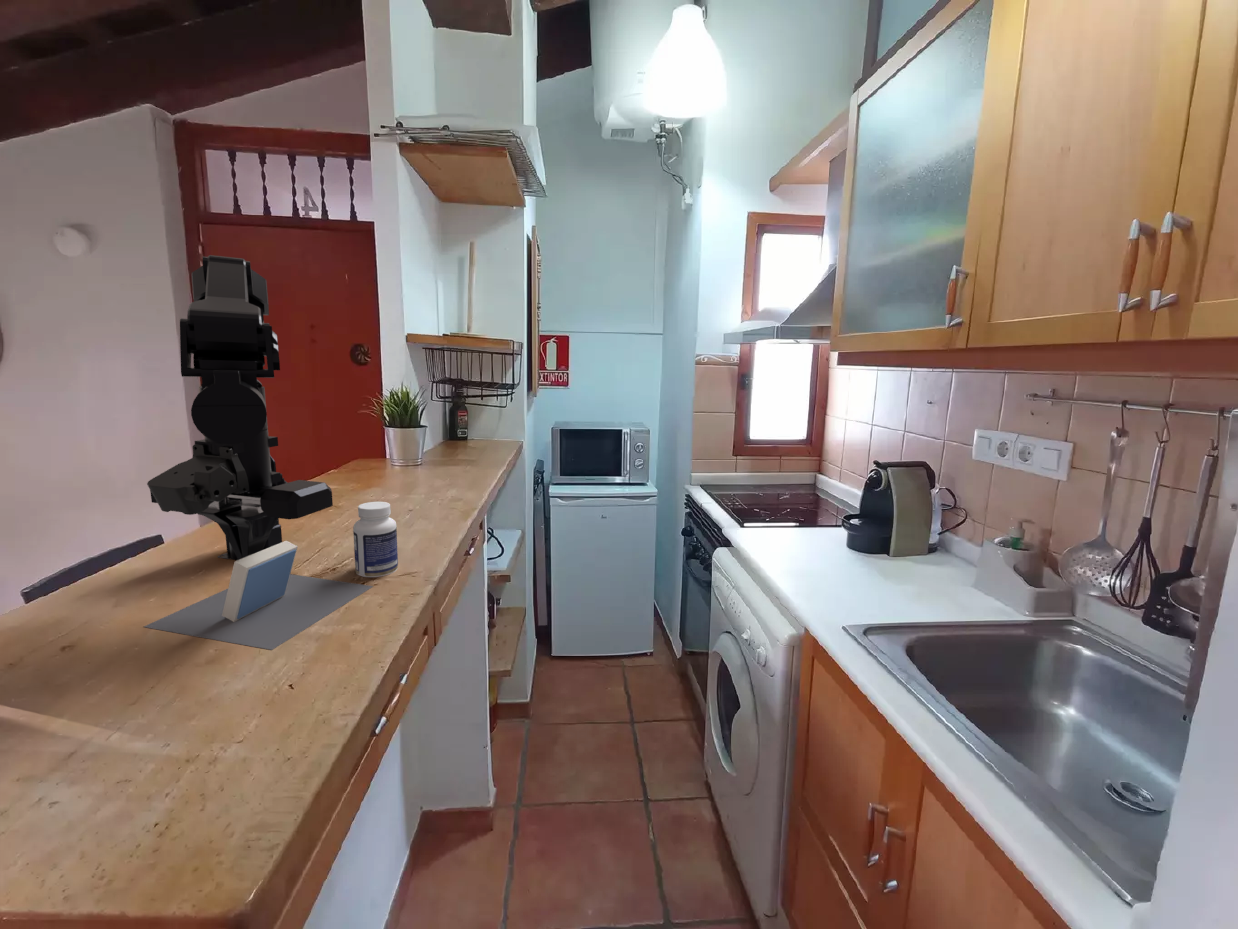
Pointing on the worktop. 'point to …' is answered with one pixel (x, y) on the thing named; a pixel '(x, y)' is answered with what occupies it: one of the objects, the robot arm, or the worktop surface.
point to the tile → (259, 580)
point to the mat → (264, 614)
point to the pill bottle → (375, 540)
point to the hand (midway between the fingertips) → (249, 565)
